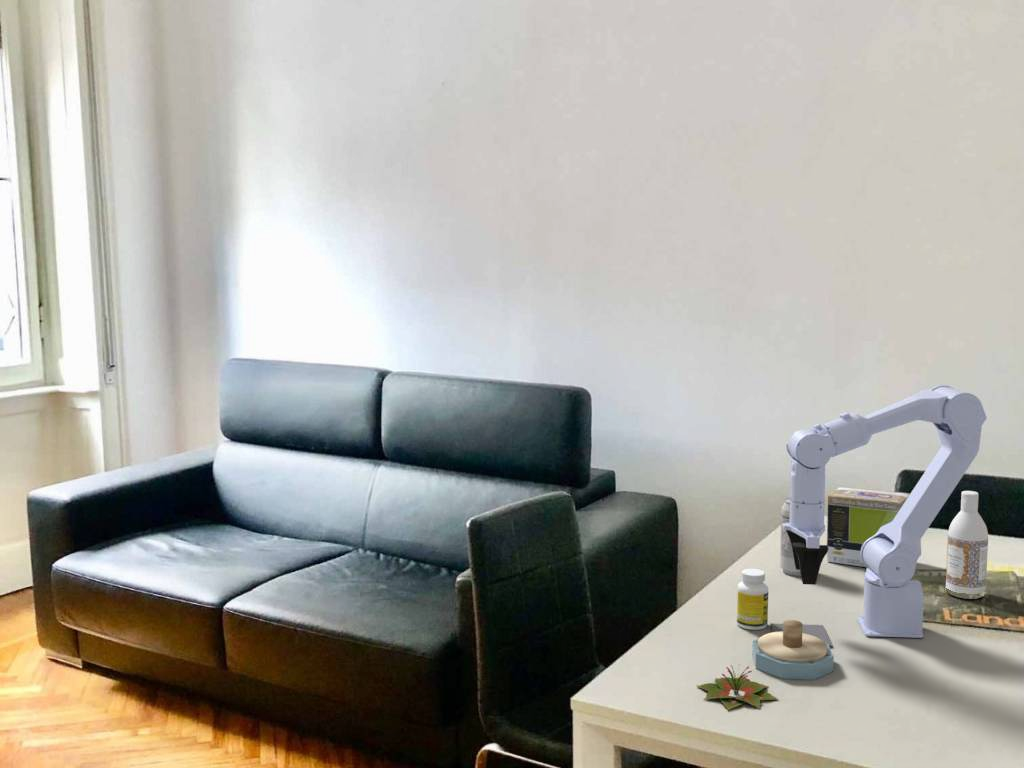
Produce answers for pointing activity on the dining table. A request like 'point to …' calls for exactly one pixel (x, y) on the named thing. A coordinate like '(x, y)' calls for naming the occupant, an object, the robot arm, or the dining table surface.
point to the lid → (792, 644)
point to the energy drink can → (787, 543)
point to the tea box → (857, 520)
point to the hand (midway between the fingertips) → (805, 576)
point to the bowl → (792, 665)
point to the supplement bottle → (752, 600)
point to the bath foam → (967, 548)
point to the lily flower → (736, 690)
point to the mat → (807, 631)
